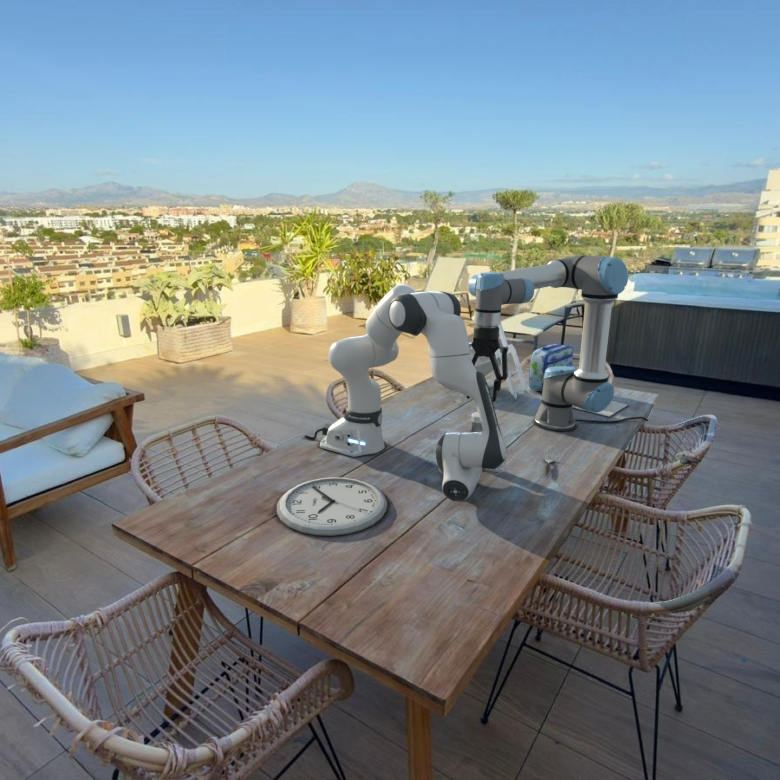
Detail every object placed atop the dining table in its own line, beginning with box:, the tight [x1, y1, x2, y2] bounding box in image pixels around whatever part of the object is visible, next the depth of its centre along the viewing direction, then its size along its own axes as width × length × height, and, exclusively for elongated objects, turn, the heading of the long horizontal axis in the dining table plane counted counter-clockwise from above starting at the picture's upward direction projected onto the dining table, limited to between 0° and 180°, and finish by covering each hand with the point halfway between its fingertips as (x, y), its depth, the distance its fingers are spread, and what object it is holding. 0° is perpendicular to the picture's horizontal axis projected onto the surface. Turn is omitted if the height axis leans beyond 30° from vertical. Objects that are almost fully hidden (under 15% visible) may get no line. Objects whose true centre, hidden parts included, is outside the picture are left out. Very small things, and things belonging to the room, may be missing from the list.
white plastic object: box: [469, 320, 531, 400], centre depth 245 cm, size 37×45×31 cm
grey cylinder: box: [471, 420, 483, 432], centre depth 166 cm, size 5×5×17 cm
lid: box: [470, 411, 481, 423], centre depth 164 cm, size 5×5×2 cm
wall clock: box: [276, 476, 388, 537], centre depth 142 cm, size 30×2×30 cm
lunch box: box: [528, 343, 574, 392], centre depth 248 cm, size 26×11×21 cm, turn 134°
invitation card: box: [573, 400, 629, 418], centre depth 226 cm, size 21×1×15 cm
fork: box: [544, 451, 555, 476], centre depth 168 cm, size 3×16×2 cm, turn 160°
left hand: (476, 449), depth 165 cm, fingers open, 8 cm apart
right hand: (481, 398), depth 162 cm, fingers open, 7 cm apart
